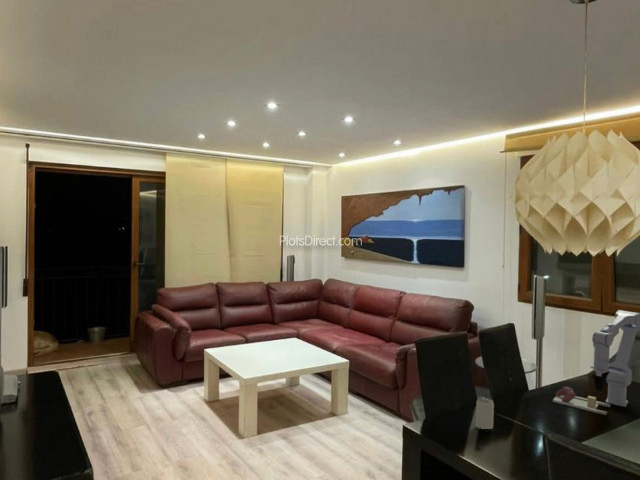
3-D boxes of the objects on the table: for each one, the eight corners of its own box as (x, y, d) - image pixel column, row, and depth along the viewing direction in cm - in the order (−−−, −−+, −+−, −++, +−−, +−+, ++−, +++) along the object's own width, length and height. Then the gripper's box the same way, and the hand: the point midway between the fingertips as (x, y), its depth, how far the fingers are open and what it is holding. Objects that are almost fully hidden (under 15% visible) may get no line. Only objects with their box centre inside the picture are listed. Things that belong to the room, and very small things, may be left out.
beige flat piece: (557, 395, 214) (557, 386, 214) (598, 405, 203) (598, 395, 203) (552, 400, 206) (553, 391, 206) (594, 411, 195) (595, 401, 195)
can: (492, 427, 175) (493, 397, 175) (493, 434, 169) (494, 403, 169) (475, 424, 178) (476, 395, 177) (475, 431, 171) (476, 400, 171)
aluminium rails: (559, 394, 215) (559, 392, 215) (610, 406, 201) (610, 404, 201) (553, 402, 205) (553, 399, 205) (606, 415, 191) (606, 412, 191)
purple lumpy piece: (570, 407, 202) (578, 394, 201) (561, 401, 203) (569, 389, 202) (563, 399, 212) (571, 387, 211) (554, 394, 213) (562, 382, 212)
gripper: (593, 353, 206) (592, 382, 206) (588, 359, 195) (587, 390, 195) (611, 356, 202) (609, 385, 202) (607, 363, 190) (606, 394, 191)
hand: (600, 388), depth 198 cm, fingers open, 7 cm apart
